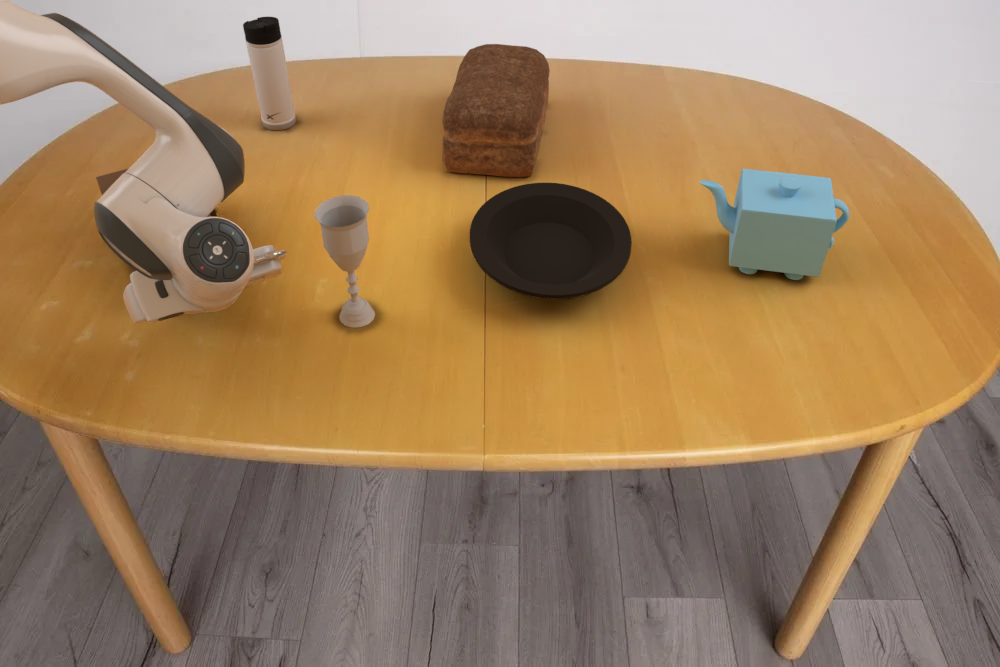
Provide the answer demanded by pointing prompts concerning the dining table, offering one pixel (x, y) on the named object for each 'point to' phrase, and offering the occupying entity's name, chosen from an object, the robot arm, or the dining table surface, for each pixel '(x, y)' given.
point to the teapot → (779, 222)
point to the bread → (496, 111)
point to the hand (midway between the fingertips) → (203, 292)
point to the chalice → (347, 249)
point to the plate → (550, 240)
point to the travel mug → (270, 72)
